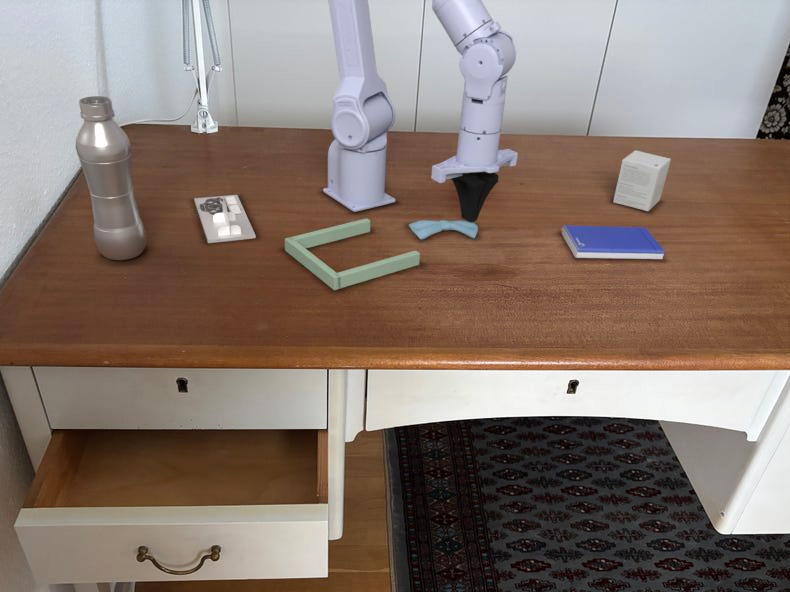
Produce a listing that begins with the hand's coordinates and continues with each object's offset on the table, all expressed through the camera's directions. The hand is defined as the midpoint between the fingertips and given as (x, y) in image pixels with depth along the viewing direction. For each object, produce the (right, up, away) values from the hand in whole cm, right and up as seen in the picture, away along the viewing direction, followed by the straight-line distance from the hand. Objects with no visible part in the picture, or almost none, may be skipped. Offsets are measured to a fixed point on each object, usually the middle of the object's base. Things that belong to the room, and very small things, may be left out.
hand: (469, 219), depth 107 cm
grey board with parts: (-36, 0, -1) cm, 36 cm away
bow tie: (-4, -2, -2) cm, 5 cm away
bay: (-17, -7, -10) cm, 21 cm away
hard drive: (+20, -5, -3) cm, 21 cm away
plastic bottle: (-47, -7, -12) cm, 49 cm away
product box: (+29, +5, +11) cm, 31 cm away
